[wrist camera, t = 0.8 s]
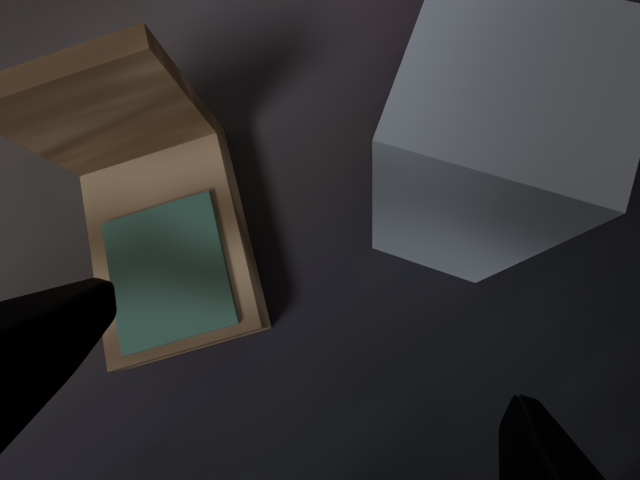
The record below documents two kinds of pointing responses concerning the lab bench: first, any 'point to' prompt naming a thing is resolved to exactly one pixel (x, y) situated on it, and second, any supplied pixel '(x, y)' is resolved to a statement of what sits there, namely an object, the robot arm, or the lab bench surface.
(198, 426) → the lab bench surface
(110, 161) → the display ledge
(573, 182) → the grey tapered block
